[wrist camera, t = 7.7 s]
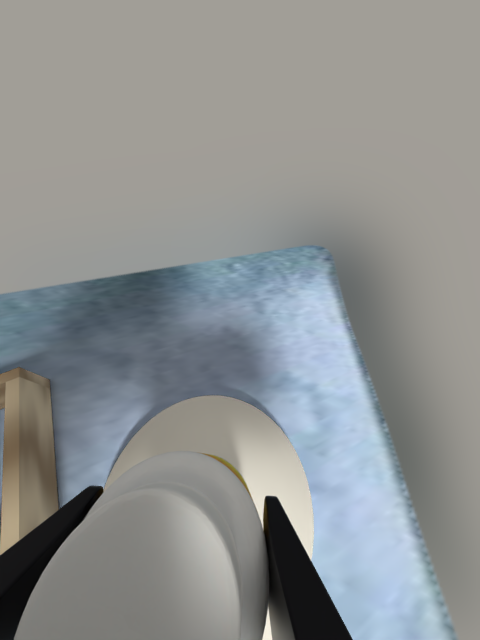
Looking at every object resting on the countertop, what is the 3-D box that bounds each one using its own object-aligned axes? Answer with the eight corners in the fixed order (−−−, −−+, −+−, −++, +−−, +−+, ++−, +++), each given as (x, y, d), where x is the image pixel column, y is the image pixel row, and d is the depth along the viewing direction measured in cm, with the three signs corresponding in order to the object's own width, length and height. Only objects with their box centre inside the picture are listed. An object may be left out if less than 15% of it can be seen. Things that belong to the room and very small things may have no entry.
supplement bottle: (179, 441, 14) (93, 413, 6) (263, 473, 14) (311, 494, 5) (132, 559, 11) (-188, 862, 3) (234, 608, 11) (228, 1247, 2)
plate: (335, 659, 11) (342, 672, 10) (67, 689, 10) (55, 705, 10) (289, 393, 18) (291, 390, 17) (125, 402, 17) (121, 400, 17)
